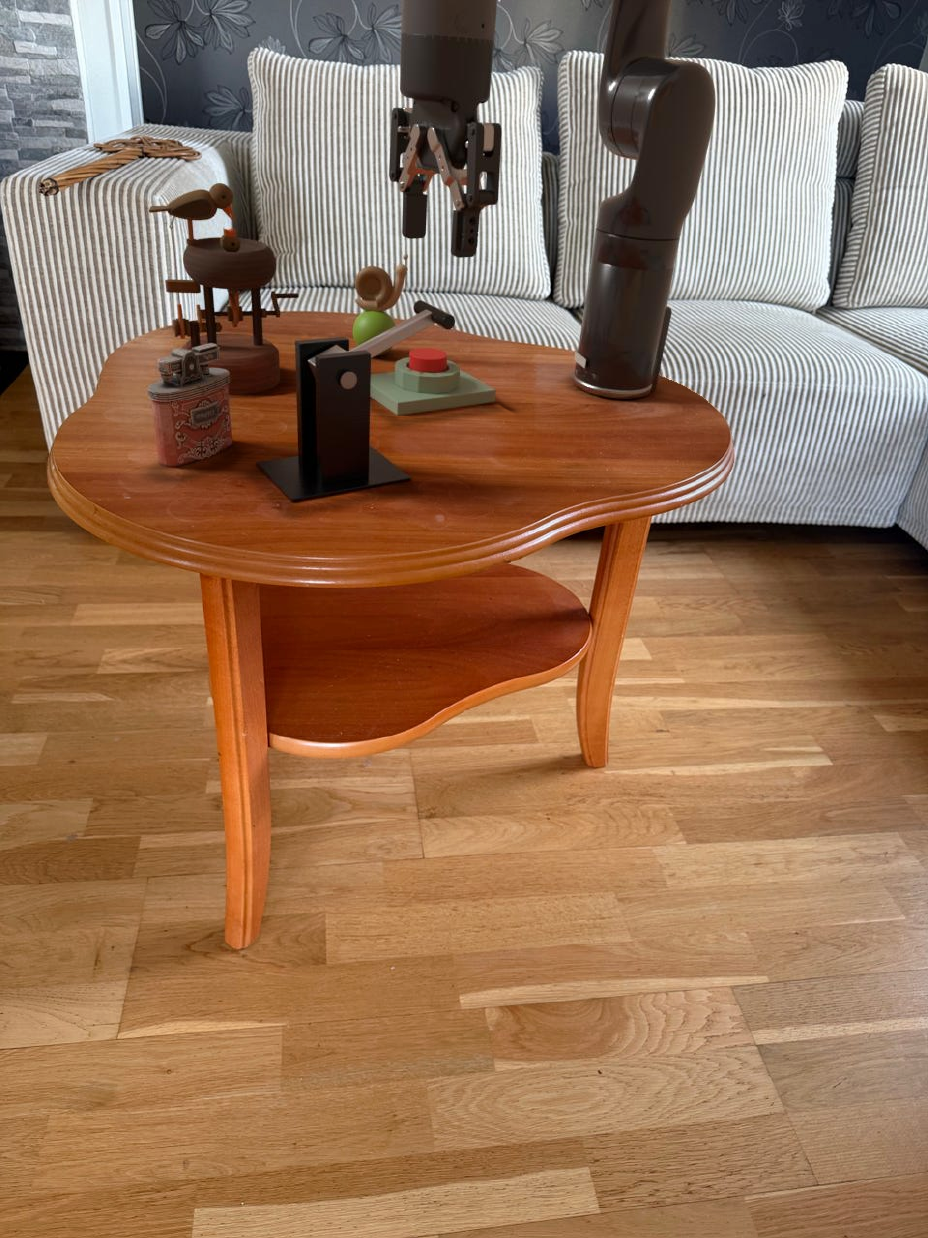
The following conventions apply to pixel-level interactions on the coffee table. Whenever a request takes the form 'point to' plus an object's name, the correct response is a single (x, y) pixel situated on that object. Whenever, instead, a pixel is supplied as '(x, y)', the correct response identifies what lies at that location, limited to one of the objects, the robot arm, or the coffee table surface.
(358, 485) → the bracket
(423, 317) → the lever
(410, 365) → the button
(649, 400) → the coffee table surface
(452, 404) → the button box
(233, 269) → the bird automaton
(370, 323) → the snail figurine
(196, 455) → the lighter
